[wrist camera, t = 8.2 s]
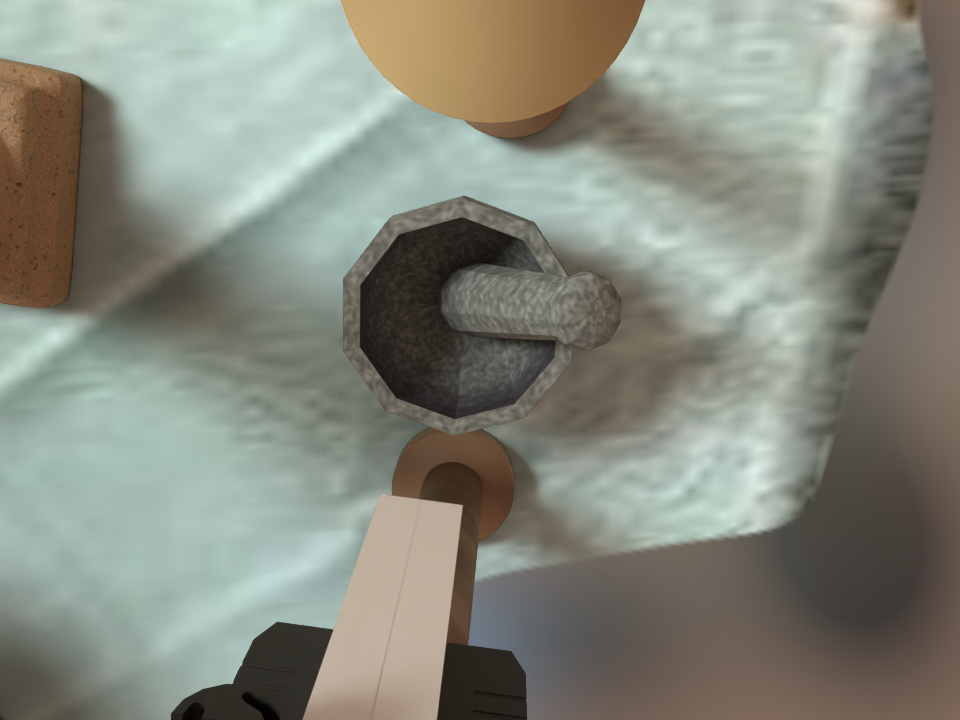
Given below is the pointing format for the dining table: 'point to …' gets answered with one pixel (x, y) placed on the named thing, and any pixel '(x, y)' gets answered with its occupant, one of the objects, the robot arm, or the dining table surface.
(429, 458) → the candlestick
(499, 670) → the robot arm
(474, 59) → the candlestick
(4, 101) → the candle holder
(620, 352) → the dining table surface
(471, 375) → the mortar and pestle
